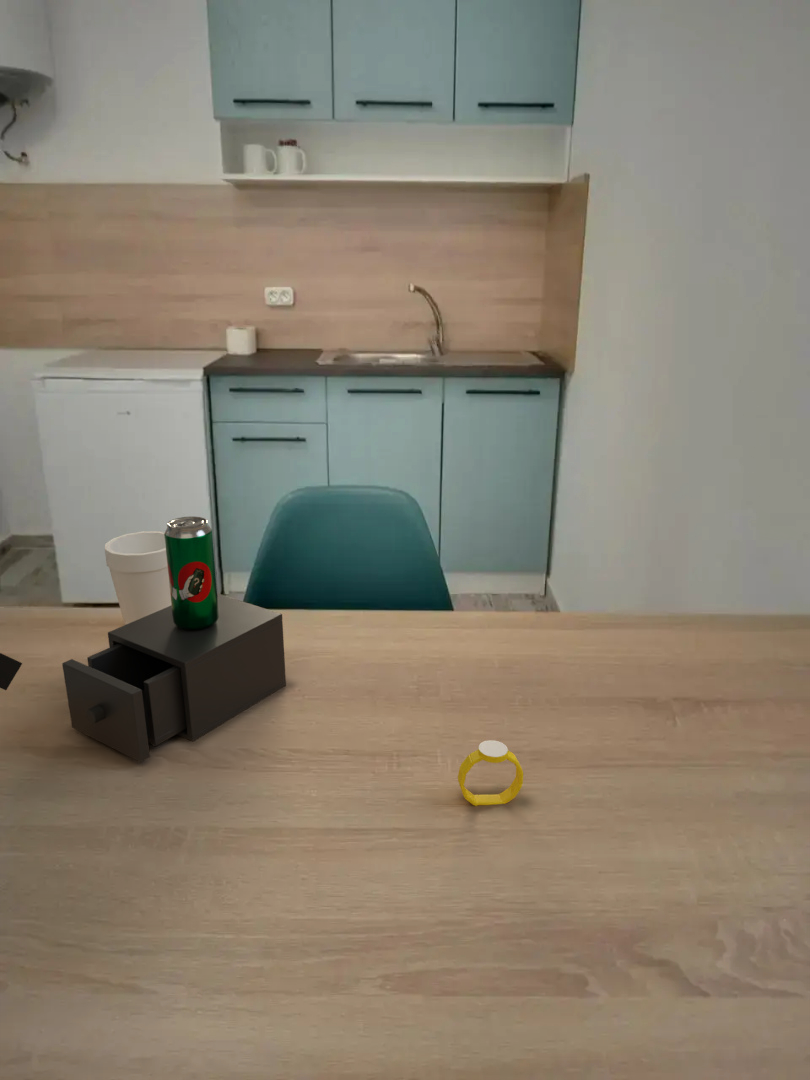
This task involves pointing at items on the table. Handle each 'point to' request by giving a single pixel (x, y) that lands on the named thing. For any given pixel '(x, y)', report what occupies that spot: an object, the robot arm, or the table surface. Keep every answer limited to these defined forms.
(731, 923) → the table surface
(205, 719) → the cabinet
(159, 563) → the foam cup
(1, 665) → the robot arm
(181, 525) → the soda can
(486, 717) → the table surface
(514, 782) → the watch
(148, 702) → the drawer
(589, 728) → the table surface
